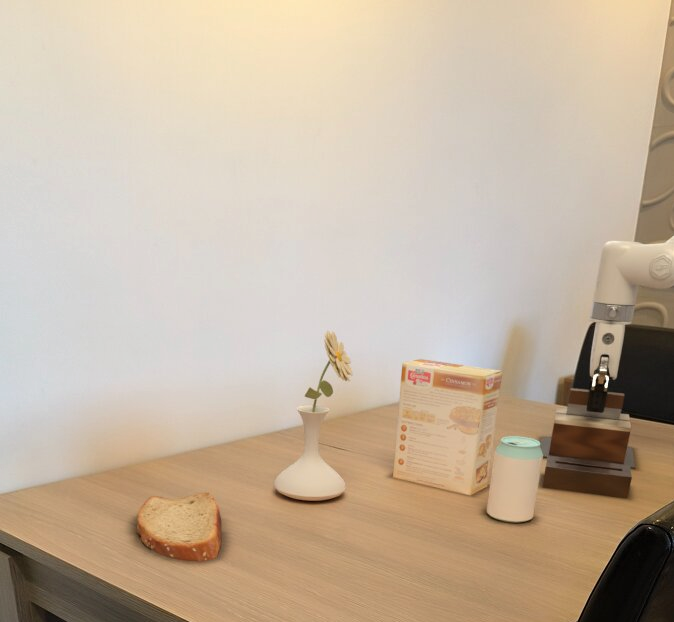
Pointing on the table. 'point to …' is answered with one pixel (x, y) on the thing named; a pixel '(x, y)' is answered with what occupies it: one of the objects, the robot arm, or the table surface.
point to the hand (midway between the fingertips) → (594, 406)
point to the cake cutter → (579, 406)
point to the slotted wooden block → (587, 477)
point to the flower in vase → (316, 439)
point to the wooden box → (589, 439)
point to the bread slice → (181, 527)
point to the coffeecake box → (446, 425)
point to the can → (515, 479)
